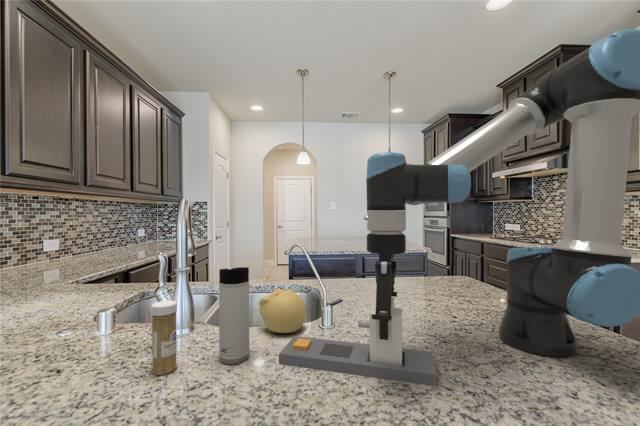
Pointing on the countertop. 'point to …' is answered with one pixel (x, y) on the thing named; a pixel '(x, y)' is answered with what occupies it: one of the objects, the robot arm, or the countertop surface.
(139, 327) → the countertop surface
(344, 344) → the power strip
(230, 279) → the travel mug
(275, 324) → the tan round potato
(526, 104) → the robot arm
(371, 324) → the block
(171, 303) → the sprinkles bottle
